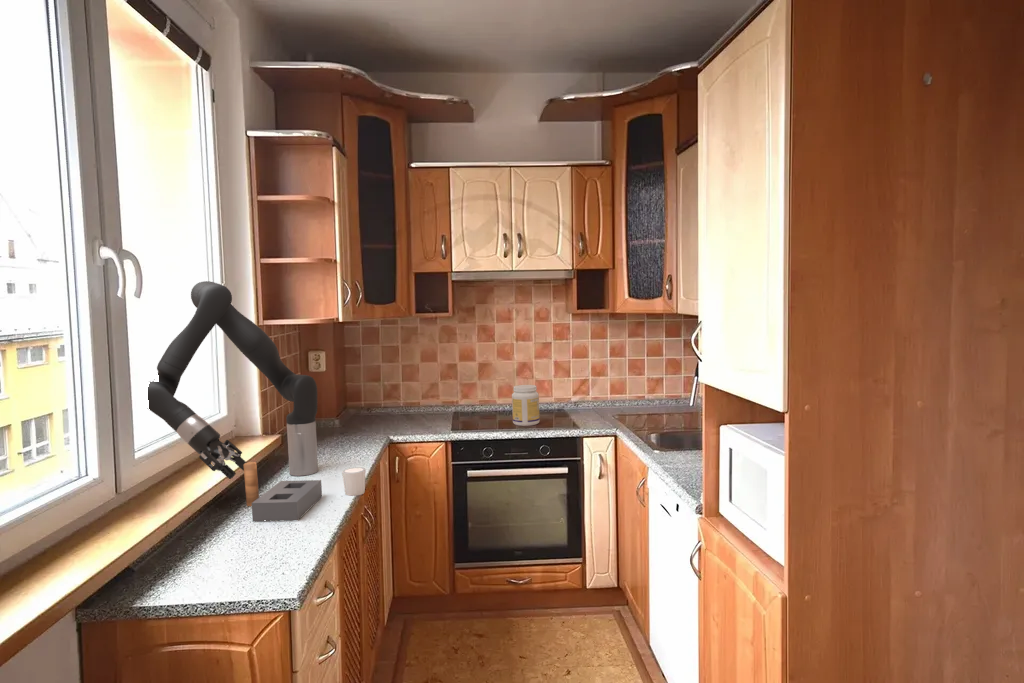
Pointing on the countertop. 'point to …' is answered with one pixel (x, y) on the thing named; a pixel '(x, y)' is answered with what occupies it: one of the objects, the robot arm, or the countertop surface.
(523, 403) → the supplement tub
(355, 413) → the countertop surface
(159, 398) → the robot arm
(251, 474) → the peg
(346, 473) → the shot glass
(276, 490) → the hole block
